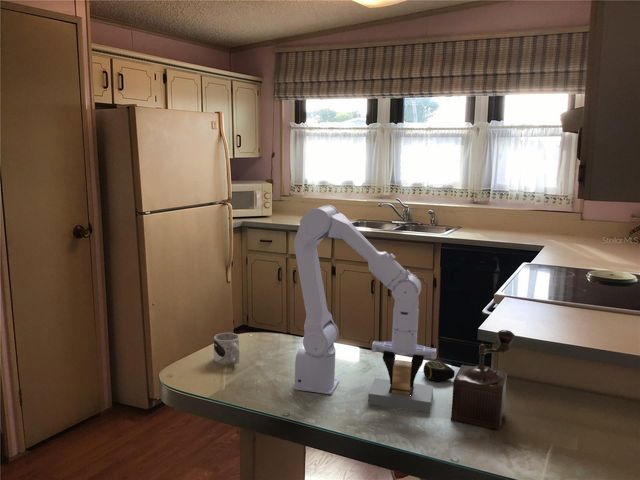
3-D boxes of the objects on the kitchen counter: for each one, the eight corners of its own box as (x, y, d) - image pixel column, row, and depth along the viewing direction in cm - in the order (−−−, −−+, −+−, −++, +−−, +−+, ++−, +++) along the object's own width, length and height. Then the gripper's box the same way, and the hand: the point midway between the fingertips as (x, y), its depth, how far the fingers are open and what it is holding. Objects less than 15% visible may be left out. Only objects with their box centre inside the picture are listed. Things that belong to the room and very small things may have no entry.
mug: (209, 358, 150) (209, 335, 149) (231, 354, 154) (231, 331, 153) (226, 371, 142) (226, 346, 141) (249, 365, 146) (249, 341, 145)
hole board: (368, 403, 126) (368, 393, 126) (374, 387, 135) (374, 378, 134) (430, 412, 123) (430, 402, 122) (432, 395, 131) (433, 385, 131)
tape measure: (455, 382, 140) (456, 368, 139) (431, 385, 138) (432, 371, 137) (441, 371, 146) (442, 358, 145) (418, 374, 144) (419, 360, 143)
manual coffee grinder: (502, 432, 115) (510, 350, 112) (449, 420, 119) (455, 341, 116) (509, 402, 129) (516, 329, 126) (461, 392, 133) (467, 321, 130)
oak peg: (391, 398, 127) (392, 366, 126) (393, 391, 131) (395, 359, 129) (409, 401, 126) (411, 368, 125) (410, 394, 130) (412, 361, 128)
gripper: (370, 329, 124) (368, 386, 126) (436, 337, 120) (432, 395, 122) (375, 320, 130) (373, 374, 133) (438, 327, 127) (434, 382, 129)
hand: (401, 384), depth 128 cm, fingers closed on oak peg, 4 cm apart
